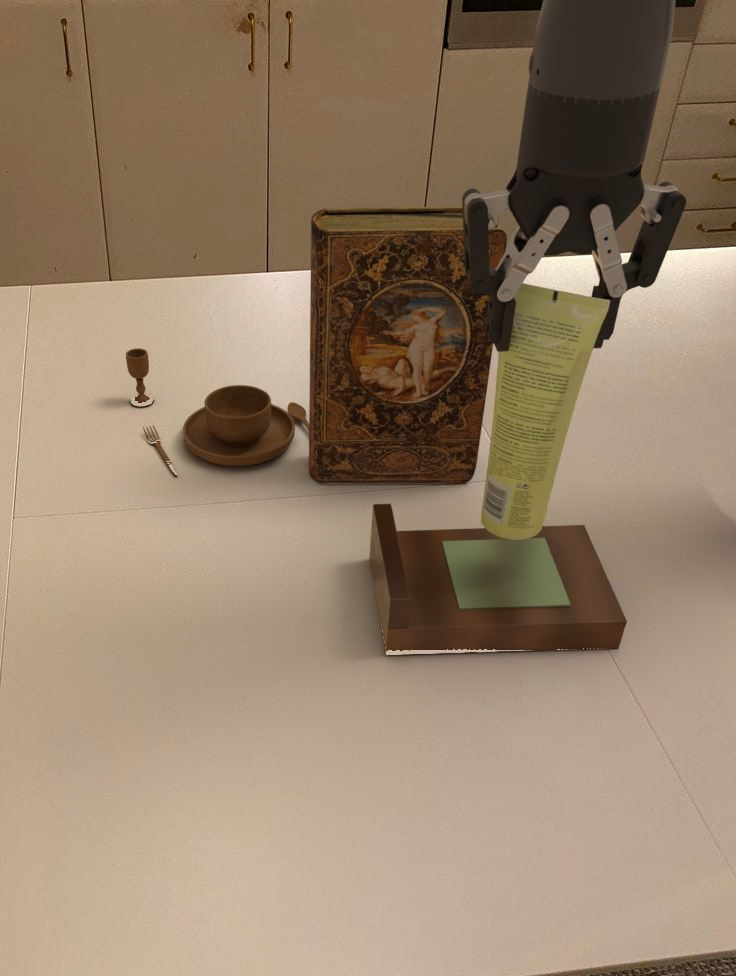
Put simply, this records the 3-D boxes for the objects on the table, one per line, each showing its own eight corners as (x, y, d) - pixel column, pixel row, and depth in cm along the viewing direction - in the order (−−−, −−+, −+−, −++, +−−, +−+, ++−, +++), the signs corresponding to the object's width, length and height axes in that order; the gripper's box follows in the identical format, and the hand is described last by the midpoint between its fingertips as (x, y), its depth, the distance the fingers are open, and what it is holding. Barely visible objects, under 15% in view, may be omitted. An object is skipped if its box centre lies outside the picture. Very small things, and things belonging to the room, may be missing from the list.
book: (308, 484, 99) (311, 232, 82) (308, 455, 103) (311, 208, 86) (473, 484, 98) (510, 229, 81) (467, 454, 102) (500, 205, 85)
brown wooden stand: (577, 551, 90) (591, 496, 86) (618, 648, 80) (635, 592, 76) (369, 558, 90) (372, 503, 86) (385, 656, 80) (390, 600, 76)
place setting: (177, 489, 99) (172, 438, 95) (122, 399, 113) (115, 351, 109) (335, 451, 103) (337, 400, 99) (263, 369, 117) (262, 321, 113)
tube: (535, 501, 82) (578, 269, 69) (560, 537, 78) (611, 298, 65) (470, 511, 81) (501, 278, 68) (492, 547, 78) (530, 309, 64)
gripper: (484, 98, 55) (452, 374, 66) (742, 88, 55) (666, 366, 66) (461, 65, 61) (435, 325, 72) (695, 55, 60) (633, 318, 72)
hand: (546, 344), depth 69 cm, fingers closed on tube, 6 cm apart
